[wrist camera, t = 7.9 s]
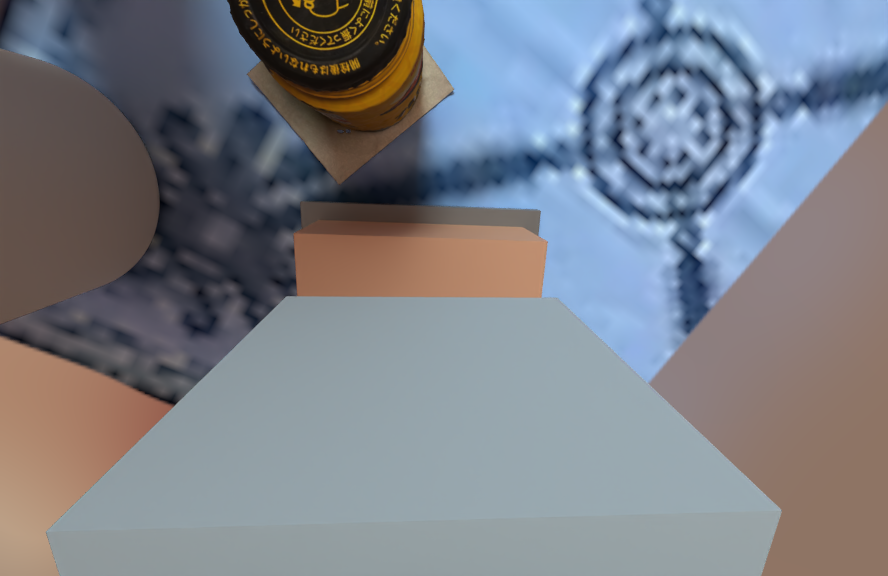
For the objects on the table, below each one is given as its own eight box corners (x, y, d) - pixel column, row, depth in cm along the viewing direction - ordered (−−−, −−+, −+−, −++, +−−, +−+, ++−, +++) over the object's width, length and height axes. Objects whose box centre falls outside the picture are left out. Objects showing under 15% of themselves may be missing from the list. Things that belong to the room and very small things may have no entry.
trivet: (304, 200, 24) (300, 201, 23) (537, 209, 25) (540, 210, 24) (312, 369, 27) (309, 374, 26) (520, 371, 28) (522, 376, 27)
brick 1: (324, 361, 26) (304, 404, 21) (318, 220, 24) (293, 233, 19) (509, 363, 27) (528, 405, 22) (522, 227, 25) (547, 241, 20)
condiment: (454, 89, 23) (489, 12, 12) (339, 184, 24) (267, 201, 13) (369, -34, 21) (309, -273, 10) (249, 75, 22) (67, -23, 11)
